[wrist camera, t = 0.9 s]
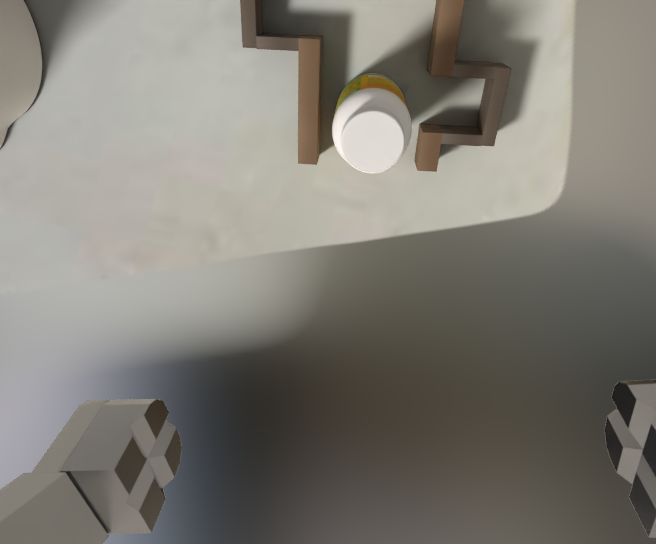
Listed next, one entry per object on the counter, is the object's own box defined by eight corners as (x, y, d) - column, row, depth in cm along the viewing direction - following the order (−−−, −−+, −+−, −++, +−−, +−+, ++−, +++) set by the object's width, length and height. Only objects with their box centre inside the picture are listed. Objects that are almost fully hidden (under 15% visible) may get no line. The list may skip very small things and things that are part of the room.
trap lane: (254, 151, 40) (248, 160, 38) (241, -154, 30) (231, -164, 28) (480, 164, 39) (487, 174, 37) (546, -144, 29) (560, -154, 27)
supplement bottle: (354, 59, 36) (350, 82, 27) (417, 90, 36) (432, 120, 28) (326, 125, 38) (315, 164, 30) (385, 152, 39) (391, 197, 31)
